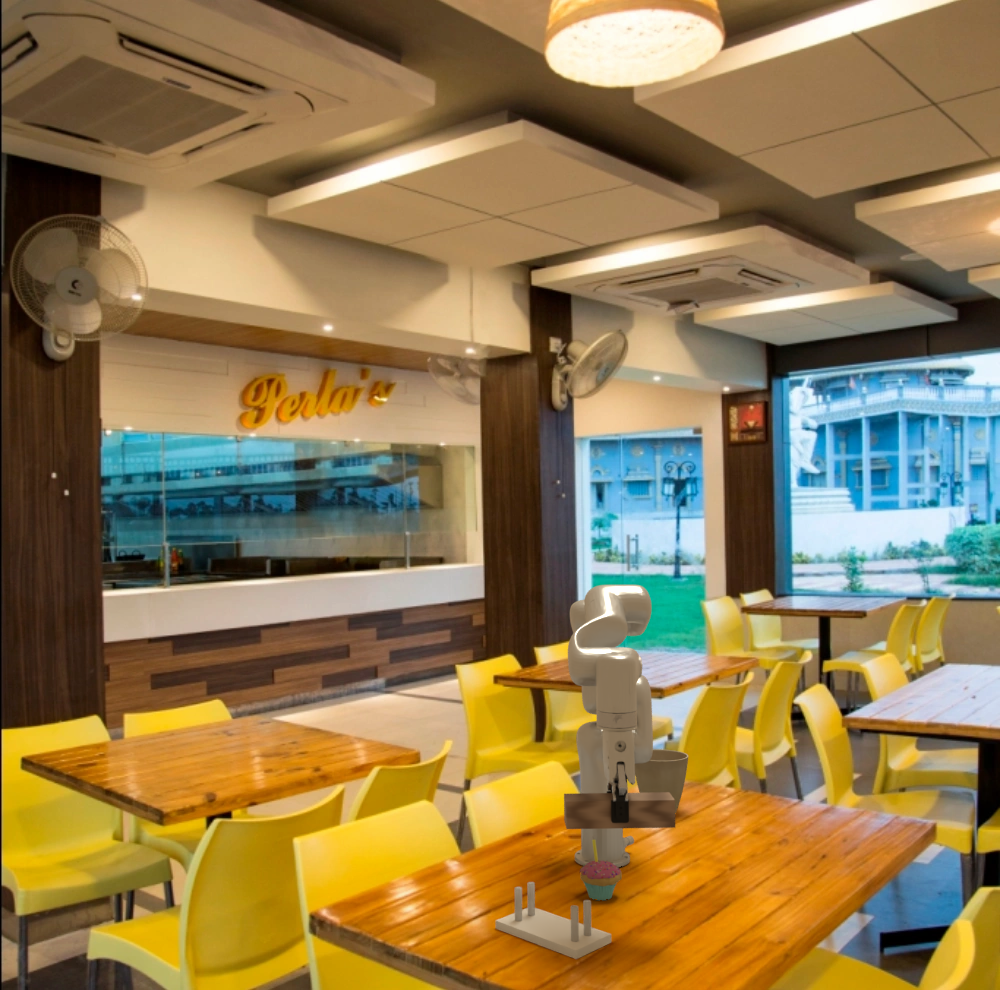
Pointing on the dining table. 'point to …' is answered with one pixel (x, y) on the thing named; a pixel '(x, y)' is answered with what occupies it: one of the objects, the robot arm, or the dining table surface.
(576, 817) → the wooden block
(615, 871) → the cupcake
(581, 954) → the peg stand
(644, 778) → the plant pot
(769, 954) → the dining table surface
